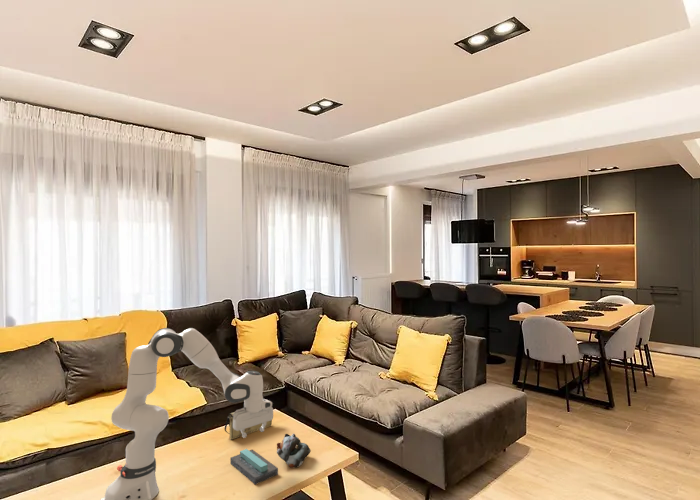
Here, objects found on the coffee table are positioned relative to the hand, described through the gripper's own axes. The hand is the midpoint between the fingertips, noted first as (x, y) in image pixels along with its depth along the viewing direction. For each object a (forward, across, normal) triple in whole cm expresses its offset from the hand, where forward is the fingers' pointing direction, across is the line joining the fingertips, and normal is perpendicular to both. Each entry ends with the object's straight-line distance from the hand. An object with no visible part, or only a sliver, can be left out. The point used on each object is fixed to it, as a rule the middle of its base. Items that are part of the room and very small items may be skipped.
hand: (253, 434), depth 193 cm
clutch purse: (+17, +18, +38) cm, 45 cm away
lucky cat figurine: (+17, +19, -7) cm, 26 cm away
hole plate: (+17, +1, 0) cm, 17 cm away
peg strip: (+16, 0, +1) cm, 17 cm away
